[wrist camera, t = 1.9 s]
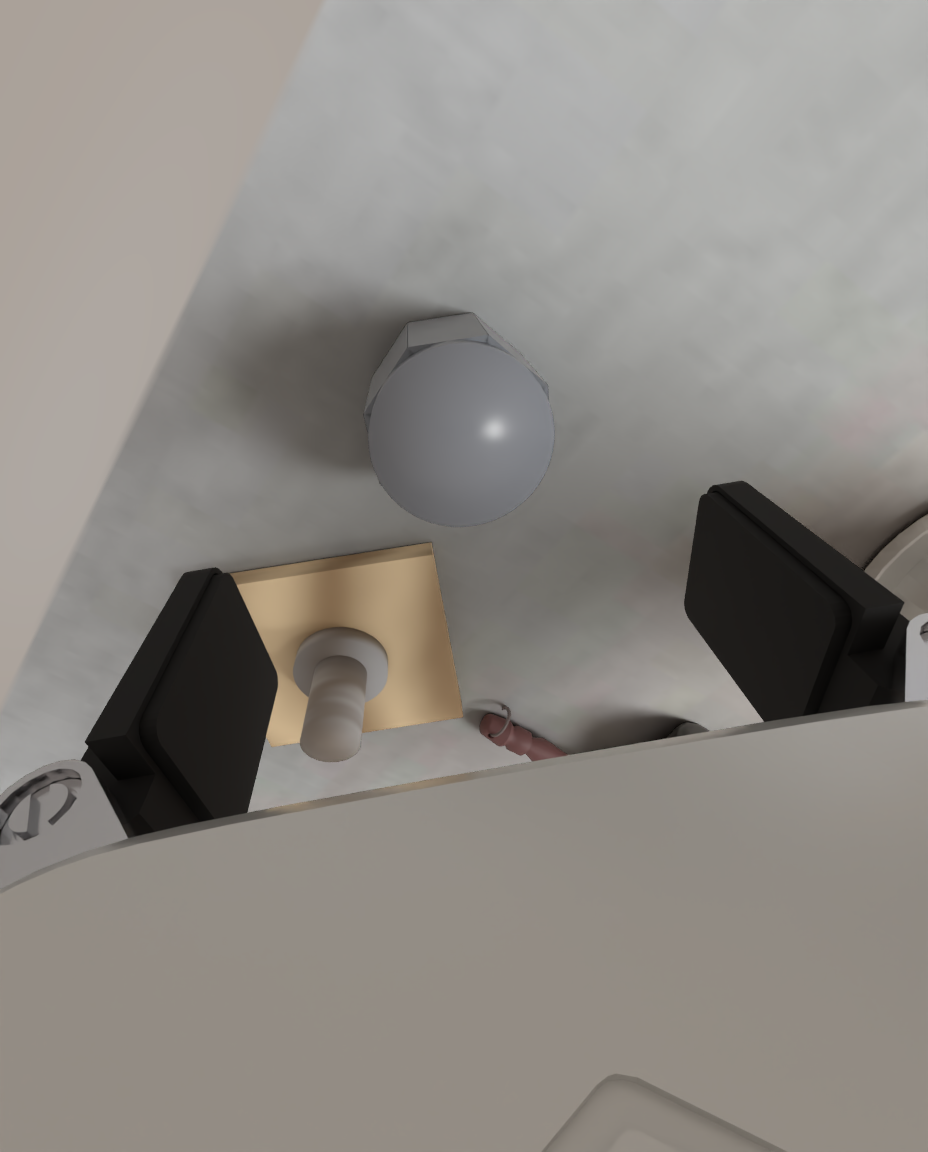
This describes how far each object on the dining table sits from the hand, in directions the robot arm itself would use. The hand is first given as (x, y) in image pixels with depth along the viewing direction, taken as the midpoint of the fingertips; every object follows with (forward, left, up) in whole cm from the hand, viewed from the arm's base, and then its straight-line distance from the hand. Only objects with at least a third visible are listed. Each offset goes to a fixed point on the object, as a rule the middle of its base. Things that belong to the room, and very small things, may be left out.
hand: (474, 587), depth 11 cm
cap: (-1, 0, -15) cm, 15 cm away
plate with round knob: (+7, +13, -15) cm, 21 cm away
